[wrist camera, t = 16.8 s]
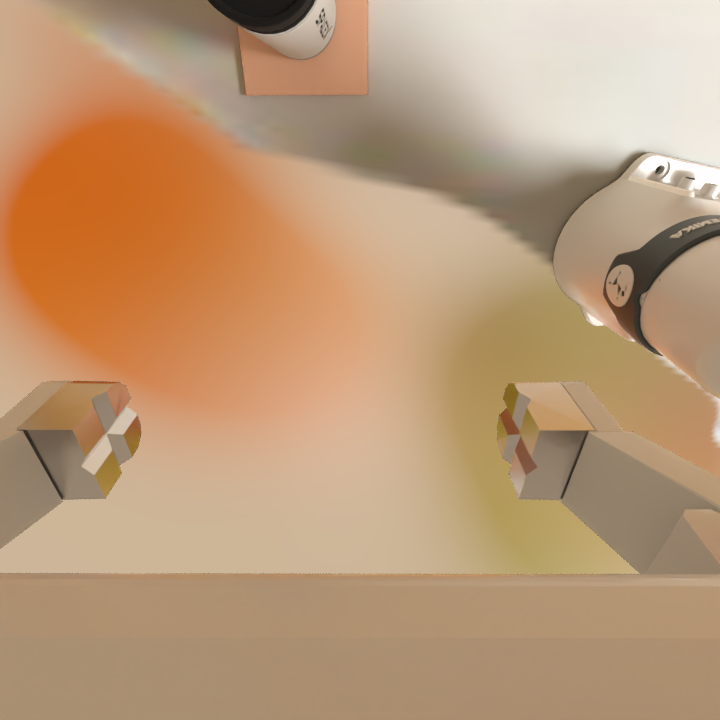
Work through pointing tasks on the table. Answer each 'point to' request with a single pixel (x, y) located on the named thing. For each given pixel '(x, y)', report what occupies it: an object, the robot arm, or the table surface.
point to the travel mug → (285, 23)
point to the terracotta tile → (313, 60)
